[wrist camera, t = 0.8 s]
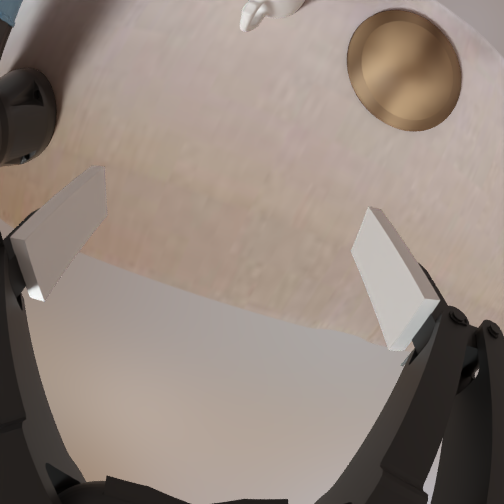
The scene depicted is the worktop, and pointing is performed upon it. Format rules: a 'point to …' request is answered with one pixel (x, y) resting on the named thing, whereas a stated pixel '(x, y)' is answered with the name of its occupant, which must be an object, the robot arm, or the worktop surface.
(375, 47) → the disc
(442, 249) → the worktop surface
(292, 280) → the worktop surface
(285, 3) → the mug
